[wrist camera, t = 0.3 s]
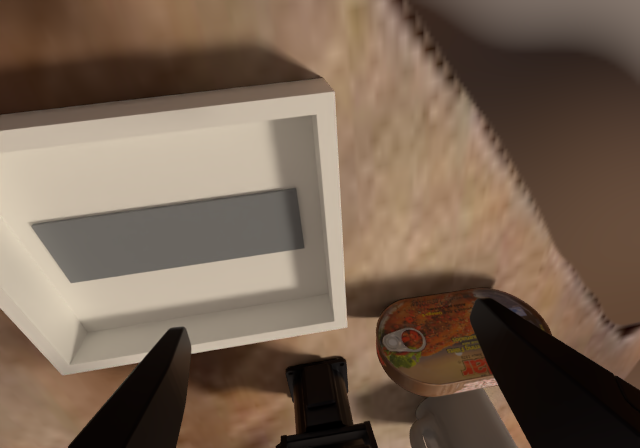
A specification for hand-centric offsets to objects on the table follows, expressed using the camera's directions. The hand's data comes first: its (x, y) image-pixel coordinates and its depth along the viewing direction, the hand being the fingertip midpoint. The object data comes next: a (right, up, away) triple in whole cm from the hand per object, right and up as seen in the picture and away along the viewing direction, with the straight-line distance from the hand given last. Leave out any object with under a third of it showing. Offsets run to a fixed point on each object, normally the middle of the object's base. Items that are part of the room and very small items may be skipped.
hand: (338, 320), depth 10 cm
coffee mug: (+16, -21, +34) cm, 43 cm away
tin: (+11, -5, +23) cm, 26 cm away
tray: (-11, +3, +14) cm, 17 cm away
